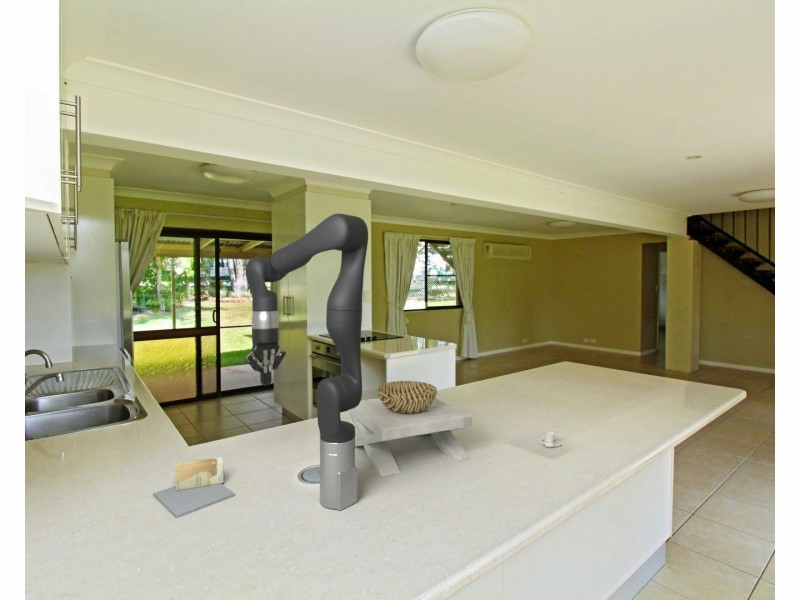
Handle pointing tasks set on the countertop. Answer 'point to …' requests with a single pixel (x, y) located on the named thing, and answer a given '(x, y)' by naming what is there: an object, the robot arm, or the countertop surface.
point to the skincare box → (199, 473)
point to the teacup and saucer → (549, 439)
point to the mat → (191, 498)
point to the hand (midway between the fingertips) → (266, 384)
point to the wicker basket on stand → (406, 422)
